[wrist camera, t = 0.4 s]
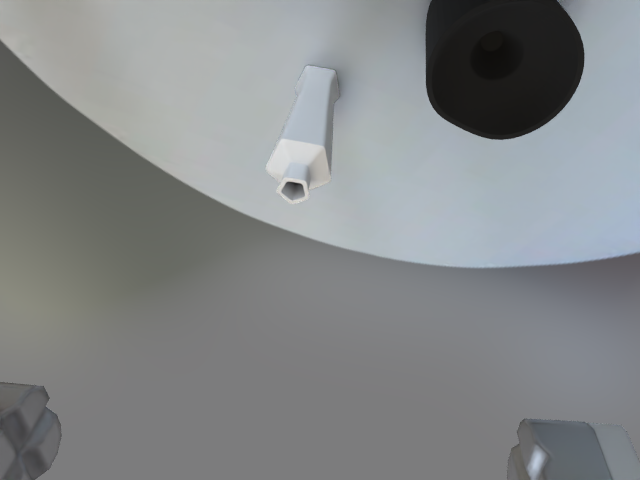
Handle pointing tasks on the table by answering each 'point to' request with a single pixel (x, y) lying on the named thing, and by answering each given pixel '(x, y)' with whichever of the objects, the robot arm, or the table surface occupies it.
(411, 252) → the table surface
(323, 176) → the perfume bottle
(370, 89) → the table surface
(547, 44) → the black bluetooth speaker
